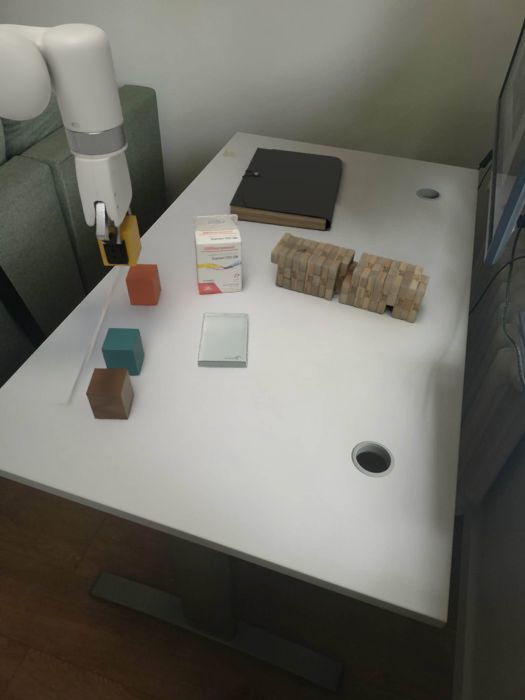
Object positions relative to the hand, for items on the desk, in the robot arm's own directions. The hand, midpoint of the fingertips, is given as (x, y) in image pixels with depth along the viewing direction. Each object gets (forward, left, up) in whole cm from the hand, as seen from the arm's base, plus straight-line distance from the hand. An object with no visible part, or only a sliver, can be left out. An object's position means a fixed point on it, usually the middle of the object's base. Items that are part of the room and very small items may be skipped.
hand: (122, 251), depth 78 cm
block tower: (+39, +12, -17) cm, 44 cm away
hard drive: (+16, -3, -17) cm, 23 cm away
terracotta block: (0, +9, -16) cm, 19 cm away
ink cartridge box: (+14, +13, -17) cm, 25 cm away
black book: (+29, +53, -17) cm, 63 cm away
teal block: (0, -9, -16) cm, 19 cm away
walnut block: (0, -18, -16) cm, 24 cm away
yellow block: (0, 0, -1) cm, 1 cm away
